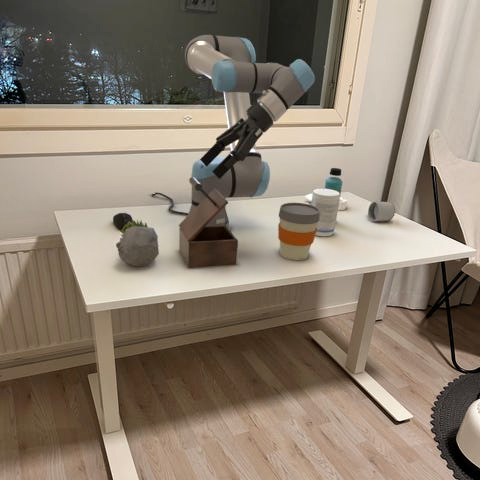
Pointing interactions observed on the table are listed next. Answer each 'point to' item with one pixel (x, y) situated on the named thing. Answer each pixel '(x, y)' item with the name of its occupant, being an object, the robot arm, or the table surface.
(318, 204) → the supplement tub
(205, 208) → the bin lid
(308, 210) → the reusable coffee cup
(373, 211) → the ceramic mug
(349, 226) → the table surface
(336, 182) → the beverage bottle
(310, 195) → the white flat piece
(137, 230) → the potted plant
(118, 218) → the gaming mouse
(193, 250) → the bin
